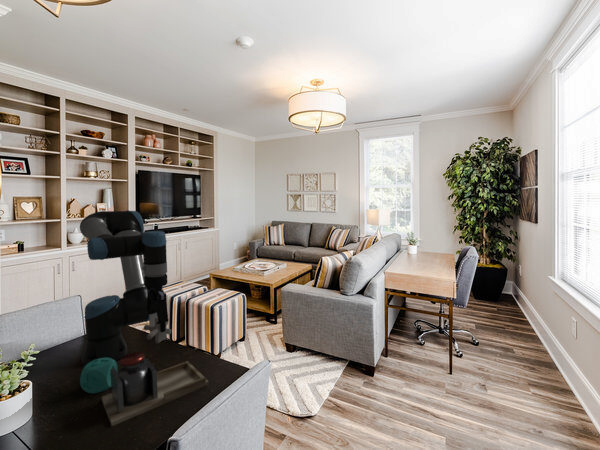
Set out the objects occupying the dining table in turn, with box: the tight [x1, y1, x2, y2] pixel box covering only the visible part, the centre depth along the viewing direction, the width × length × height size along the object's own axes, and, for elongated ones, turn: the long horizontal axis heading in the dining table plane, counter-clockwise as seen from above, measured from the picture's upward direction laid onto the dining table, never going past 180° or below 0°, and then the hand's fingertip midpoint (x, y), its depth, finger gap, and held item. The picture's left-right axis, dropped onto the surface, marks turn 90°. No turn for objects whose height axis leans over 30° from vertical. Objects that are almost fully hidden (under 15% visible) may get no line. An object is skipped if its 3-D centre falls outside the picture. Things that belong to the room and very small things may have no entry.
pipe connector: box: [143, 316, 172, 344], centre depth 110 cm, size 10×10×10 cm
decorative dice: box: [79, 358, 119, 394], centre depth 101 cm, size 8×8×8 cm
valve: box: [110, 351, 158, 414], centre depth 93 cm, size 10×10×14 cm
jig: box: [101, 360, 210, 427], centre depth 97 cm, size 15×28×3 cm, turn 132°
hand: (158, 335), depth 110 cm, fingers closed on pipe connector, 9 cm apart
